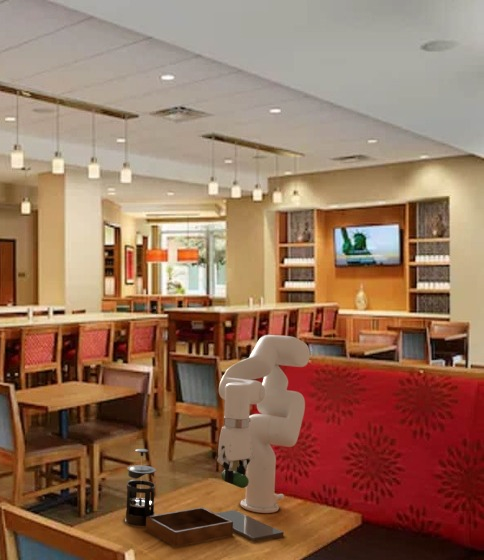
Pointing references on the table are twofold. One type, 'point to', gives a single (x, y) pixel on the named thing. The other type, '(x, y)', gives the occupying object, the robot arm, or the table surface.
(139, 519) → the french press
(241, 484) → the cucumber
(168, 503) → the table surface
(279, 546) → the table surface
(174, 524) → the brown wooden tray
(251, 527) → the board
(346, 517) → the table surface
